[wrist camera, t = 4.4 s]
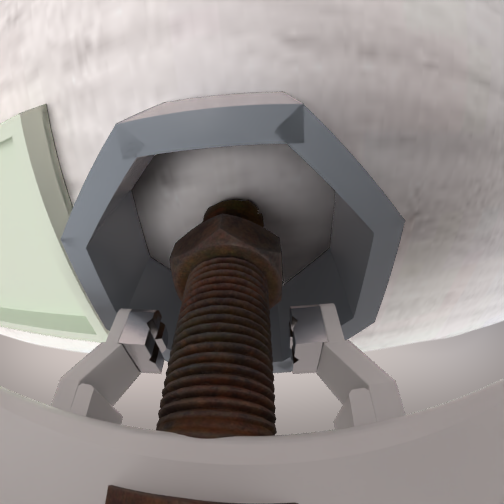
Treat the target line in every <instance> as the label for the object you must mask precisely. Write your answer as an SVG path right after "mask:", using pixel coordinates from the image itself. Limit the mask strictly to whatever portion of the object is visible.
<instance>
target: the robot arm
mask: <svg viewBox="0 0 504 504" xmlns="http://www.w3.org/2000/svg"><path fill="white" fill-rule="evenodd" d="M289 315H290V322H289V344H290V348H291V349H292V350H291V364H292V373H293V374H299V373H314V372H317V375H318V376H319V377H320V378H321V379H322V381H323V382H324V383H325V384H326V385H327V387H328V388H329V389H330V390H331V391H332V392H333V394H334V395H335V396H336V397H337V398H338V400H340V402H341V403H342V404H343V406H342V408H341V410H340V411H339V413H338V415H337V416H336V418H335V420H334V427H335V430H328V431H321V432H312V433H303V434H291V435H274V436H235V437H224V438H216V439H200V438H193V437H188V436H184V435H180V434H176V433H172V432H165V431H157V430H150V429H143V428H137V427H131V426H126V425H121V423H122V418H123V417H122V415H121V414H120V413H119V412H118V411H117V410H116V409H115V408H114V407H113V405H114V404H115V403H116V402H117V401H118V400H119V398H120V397H121V396H122V395H123V394H124V392H125V391H126V390H127V389H128V388H129V387H130V386H131V384H132V383H133V382H134V381H135V380H136V379H137V377H138V376H139V375H140V372H141V373H159V374H161V372H162V367H163V363H164V357H163V355H162V353H163V352H164V351H165V350H166V349H167V345H168V331H167V328H166V325H165V324H164V323H162V322H161V319H162V316H161V313H160V311H159V310H146V309H122V308H121V309H120V310H119V311H118V312H117V315H116V317H115V320H114V322H113V325H112V327H111V329H110V332H109V335H108V337H107V340H106V342H102V343H101V344H99V345H98V346H97V347H96V348H95V349H94V350H92V351H91V352H90V353H89V354H88V355H86V356H85V357H84V358H83V359H82V360H81V361H79V362H78V363H77V364H76V365H75V366H74V367H72V368H71V369H70V370H69V371H68V372H67V373H66V374H65V375H63V376H62V377H61V379H60V382H59V384H58V387H57V390H56V392H55V395H54V398H53V401H52V403H51V406H49V405H46V404H43V403H41V402H37V401H35V400H32V399H29V398H27V397H25V396H22V395H20V394H17V393H15V392H12V391H10V390H8V389H5V388H3V387H1V386H0V504H105V501H106V495H107V489H108V485H114V486H118V487H122V488H127V489H131V490H136V491H141V492H146V493H152V494H158V495H165V496H173V497H181V498H187V499H195V500H203V501H213V502H225V503H246V504H274V503H294V502H295V503H298V504H504V378H503V379H501V380H499V381H497V382H495V383H493V384H490V385H488V386H486V387H484V388H481V389H479V390H477V391H474V392H472V393H470V394H467V395H465V396H462V397H459V398H457V399H454V400H451V401H449V402H446V403H443V404H440V405H437V406H434V407H431V408H428V409H425V410H421V411H418V412H414V413H411V414H407V415H405V411H404V408H403V404H402V401H401V397H400V394H399V390H398V387H397V384H396V381H395V380H394V379H393V378H392V377H390V376H389V375H388V374H387V373H386V372H385V371H384V370H383V369H381V368H380V367H379V366H378V365H377V364H375V362H373V361H372V360H371V359H370V358H369V357H368V356H366V355H365V354H364V353H363V352H362V351H361V350H360V349H358V348H357V347H356V346H355V345H354V344H353V343H352V342H350V341H349V340H344V336H343V332H342V329H341V325H340V321H339V318H338V314H337V311H336V307H335V305H334V304H333V303H330V304H319V305H318V304H316V305H303V306H290V313H289Z"/></svg>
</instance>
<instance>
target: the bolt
mask: <svg viewBox="0 0 504 504" xmlns="http://www.w3.org/2000/svg"><path fill="white" fill-rule="evenodd" d="M257 210H259V209H258V208H257V207H256V205H254V204H253V203H252V202H250V201H249V200H246V201H239V200H227V201H222V202H220V203H218V204H216V205H214V206H211V207H209V208H208V210H207V211H206V213H205V215H204V218H203V222H202V223H201V224H199V225H198V226H197V227H195V228H194V229H192V230H191V231H189V232H188V233H187V234H186V235H184V236H183V237H182V238H181V239H180V240H179V241H178V242H176V243H175V246H174V249H173V251H172V254H171V257H170V265H171V273H172V278H173V282H174V287H175V290H176V292H177V295H178V297H179V299H180V300H181V302H182V303H181V308H180V313H179V316H178V321H177V325H176V330H175V334H174V338H173V344H172V347H171V351H170V359H169V361H168V369H167V372H166V379H165V381H164V387H165V388H164V389H163V390H162V396H163V398H162V400H161V402H160V408H161V409H160V410H159V413H158V415H159V421H158V423H157V428H156V430H157V431H165V432H172V433H176V434H180V435H184V436H188V437H193V438H200V439H216V438H224V437H235V436H274V435H275V434H276V427H275V420H276V417H275V414H274V413H275V405H274V400H275V395H274V394H273V393H274V384H273V381H274V375H273V365H272V364H273V357H272V347H271V346H272V343H271V330H270V327H271V324H270V317H269V316H270V309H271V308H272V307H273V306H275V305H276V304H277V303H278V302H280V301H281V298H282V253H281V247H280V240H279V237H278V236H276V235H275V234H273V233H272V232H270V231H269V230H267V229H265V228H264V222H263V216H262V214H260V213H259V214H258V211H257ZM105 504H246V503H225V502H213V501H203V500H195V499H187V498H181V497H173V496H165V495H158V494H152V493H146V492H141V491H136V490H131V489H127V488H122V487H118V486H114V485H108V489H107V495H106V501H105ZM274 504H298V503H295V502H294V503H274Z"/></svg>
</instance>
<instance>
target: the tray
mask: <svg viewBox="0 0 504 504" xmlns="http://www.w3.org/2000/svg"><path fill="white" fill-rule="evenodd" d="M72 209H73V208H72V205H71V202H70V199H69V195H68V192H67V189H66V186H65V183H64V179H63V176H62V172H61V169H60V165H59V161H58V158H57V154H56V150H55V145H54V141H53V137H52V132H51V128H50V123H49V118H48V112H47V106H46V104H45V105H42V106H39V107H36V108H33V109H30V110H27V111H25V112H22V113H19V114H18V115H16V116H14V117H12V118H10V119H8V120H6V121H5V122H3V123H1V124H0V327H5V328H9V329H14V330H19V331H24V332H30V333H35V334H41V335H47V336H53V337H60V338H67V339H74V340H82V341H90V342H99V343H102V342H106V340H107V337H108V335H109V332H110V331H109V330H107V329H106V328H105V326H104V325H103V323H102V321H101V319H100V318H99V316H98V314H97V312H96V311H95V309H94V307H93V305H92V303H91V302H90V300H89V298H88V296H87V294H86V292H85V290H84V288H83V287H82V285H81V283H80V281H79V279H78V277H77V275H76V272H75V270H74V268H73V266H72V264H71V262H70V260H69V258H68V255H67V253H66V251H65V249H64V246H63V244H62V242H61V240H60V239H61V237H62V234H63V231H64V229H65V226H66V224H67V221H68V219H69V216H70V214H71V211H72Z"/></svg>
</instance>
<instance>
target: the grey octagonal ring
mask: <svg viewBox="0 0 504 504" xmlns="http://www.w3.org/2000/svg"><path fill="white" fill-rule="evenodd" d="M259 144H287V145H288V146H289V147H291V148H292V149H293V150H294V151H295V152H296V153H297V154H298V155H299V156H300V157H301V158H302V159H303V160H304V161H306V162H307V163H308V164H309V165H310V166H311V167H312V168H313V169H314V170H315V171H316V172H317V173H318V174H319V175H320V176H321V177H322V178H323V179H324V180H325V181H326V182H327V183H328V184H329V185H330V186H331V187H332V188H333V189H334V190H335V202H334V213H333V223H332V232H331V241H330V249H328V250H327V251H326V252H325V253H323V254H322V255H321V256H320V257H319V258H317V259H316V260H315V261H314V262H312V263H311V264H310V265H309V266H307V267H306V268H305V269H304V270H302V271H301V272H300V273H298V274H297V275H296V276H295V277H293V278H292V279H291V280H290V281H288V282H287V283H286V284H284V285H283V286H282V298H281V301H280V302H278V303H277V304H276V305H275V306H273V307H272V308H271V309H270V316H269V317H270V324H271V327H270V330H271V343H272V346H271V347H272V357H273V364H272V365H273V373H282V372H291V371H292V364H291V350H292V349H291V348H290V344H289V322H290V315H289V313H290V306H303V305H316V304H318V305H319V304H330V303H333V304H334V305H335V307H336V311H337V314H338V318H339V321H340V325H341V329H342V332H343V336H344V340H347V339H349V338H351V337H352V336H354V335H355V334H357V333H359V332H360V331H362V330H363V329H365V328H366V327H368V326H369V325H371V324H372V323H374V322H375V319H376V317H377V314H378V311H379V308H380V305H381V302H382V300H383V297H384V294H385V291H386V287H387V284H388V281H389V278H390V275H391V271H392V268H393V265H394V261H395V258H396V254H397V250H398V247H399V243H400V239H401V235H402V231H403V227H404V223H405V220H404V218H403V217H402V216H401V215H400V213H399V212H398V211H397V209H396V208H395V207H394V205H393V204H392V203H391V201H390V200H389V199H388V198H387V196H386V195H385V194H384V192H383V191H382V190H381V189H380V187H379V186H378V185H377V184H376V182H375V181H374V180H373V179H372V177H371V176H370V175H369V174H368V173H367V171H366V170H365V169H364V168H363V167H362V166H361V164H360V163H359V162H358V161H357V160H356V159H355V158H354V156H353V155H352V154H351V153H350V152H349V151H348V150H347V149H346V147H345V146H344V145H343V144H342V143H341V142H340V141H339V140H338V139H337V138H336V137H335V136H334V135H333V133H332V132H331V131H330V130H329V129H328V128H327V127H326V126H325V125H324V124H323V123H322V122H321V121H320V120H319V119H318V118H317V117H316V116H315V115H314V114H313V113H312V112H311V111H310V110H309V109H308V108H307V107H306V106H305V105H304V104H303V103H301V102H300V101H298V100H297V99H295V98H293V97H292V96H290V95H288V94H286V93H285V92H283V91H282V92H256V93H239V94H226V95H215V96H206V97H198V98H190V99H183V100H177V101H170V102H164V103H162V104H159V105H157V106H154V107H152V108H149V109H147V110H145V111H142V112H140V113H138V114H136V115H133V116H131V117H129V118H127V119H125V120H123V121H121V122H119V123H116V124H115V127H114V128H113V130H112V132H111V133H110V135H109V137H108V139H107V140H106V142H105V144H104V146H103V147H102V149H101V151H100V153H99V155H98V157H97V158H96V160H95V162H94V164H93V166H92V168H91V170H90V172H89V174H88V176H87V178H86V180H85V182H84V184H83V187H82V189H81V191H80V193H79V195H78V197H77V200H76V202H75V204H74V207H73V209H72V211H71V214H70V216H69V219H68V221H67V224H66V226H65V229H64V231H63V234H62V237H61V239H60V240H61V242H62V244H63V246H64V249H65V251H66V253H67V255H68V258H69V260H70V262H71V264H72V266H73V268H74V270H75V272H76V275H77V277H78V279H79V281H80V283H81V285H82V287H83V288H84V290H85V292H86V294H87V296H88V298H89V300H90V302H91V303H92V305H93V307H94V309H95V311H96V312H97V314H98V316H99V318H100V319H101V321H102V323H103V325H104V326H105V328H106V329H107V330H109V331H110V329H111V327H112V325H113V322H114V320H115V317H116V315H117V312H118V311H119V310H120V309H121V308H122V309H146V310H159V311H160V313H161V316H162V319H161V322H162V323H164V324H165V325H166V328H167V331H168V345H167V349H166V350H165V351H164V352H163V353H162V355H163V357H164V360H165V361H167V362H168V361H169V359H170V351H171V347H172V344H173V338H174V334H175V330H176V325H177V321H178V316H179V313H180V308H181V303H182V302H181V300H180V299H179V297H178V295H177V292H176V290H175V287H174V282H173V278H172V273H171V270H170V269H168V268H167V267H165V266H164V265H162V264H160V263H159V262H157V261H156V260H154V259H153V258H151V257H150V255H149V252H148V248H147V245H146V242H145V238H144V235H143V232H142V228H141V225H140V221H139V217H138V214H137V210H136V206H135V202H134V199H133V195H132V191H131V190H132V188H133V187H134V185H135V183H136V182H137V180H138V179H139V177H140V176H141V174H142V173H143V171H144V170H145V168H146V167H147V166H148V164H149V163H150V161H151V160H152V158H153V157H154V155H155V154H162V153H169V152H177V151H185V150H194V149H203V148H214V147H226V146H240V145H259Z"/></svg>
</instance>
